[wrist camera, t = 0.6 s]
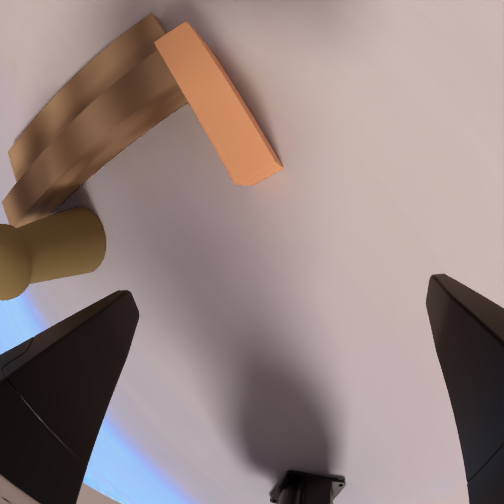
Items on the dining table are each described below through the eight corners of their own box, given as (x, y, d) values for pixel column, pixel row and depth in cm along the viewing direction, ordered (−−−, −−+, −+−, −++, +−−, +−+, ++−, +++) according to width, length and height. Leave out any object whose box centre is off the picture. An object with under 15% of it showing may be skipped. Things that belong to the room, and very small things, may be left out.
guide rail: (74, 296, 27) (39, 314, 22) (15, 152, 26) (-20, 151, 21) (283, 168, 21) (275, 162, 17) (179, 4, 20) (154, -25, 15)
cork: (109, 212, 25) (5, 230, 14) (104, 280, 26) (11, 325, 15) (60, 201, 25) (-36, 214, 15) (57, 264, 27) (-31, 295, 16)
